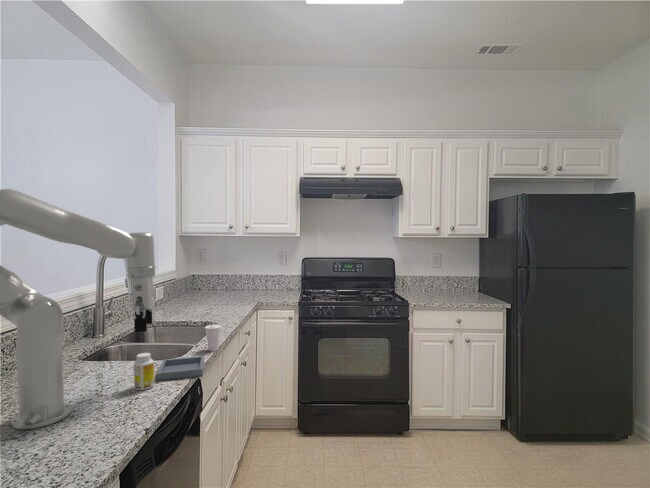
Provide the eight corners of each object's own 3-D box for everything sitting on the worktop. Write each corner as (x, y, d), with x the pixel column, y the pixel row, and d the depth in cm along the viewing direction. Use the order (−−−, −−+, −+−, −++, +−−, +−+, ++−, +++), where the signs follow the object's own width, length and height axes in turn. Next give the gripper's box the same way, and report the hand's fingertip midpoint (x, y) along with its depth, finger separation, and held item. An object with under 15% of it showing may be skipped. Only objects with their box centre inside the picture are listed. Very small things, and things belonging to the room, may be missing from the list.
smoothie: (209, 353, 152) (208, 318, 152) (202, 349, 157) (202, 315, 156) (224, 350, 156) (223, 316, 156) (217, 346, 161) (216, 313, 161)
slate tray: (202, 376, 128) (202, 369, 128) (157, 381, 124) (156, 373, 124) (204, 362, 141) (204, 356, 141) (163, 366, 138) (163, 359, 138)
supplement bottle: (156, 383, 122) (156, 351, 122) (150, 390, 117) (149, 357, 117) (138, 384, 122) (137, 352, 122) (131, 391, 116) (130, 357, 116)
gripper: (149, 275, 111) (152, 333, 112) (159, 269, 128) (161, 320, 128) (121, 276, 109) (123, 336, 110) (134, 270, 126) (136, 322, 126)
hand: (144, 327), depth 119 cm, fingers open, 9 cm apart
